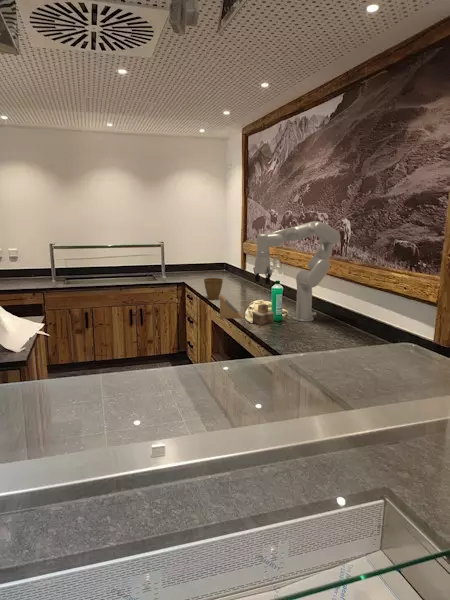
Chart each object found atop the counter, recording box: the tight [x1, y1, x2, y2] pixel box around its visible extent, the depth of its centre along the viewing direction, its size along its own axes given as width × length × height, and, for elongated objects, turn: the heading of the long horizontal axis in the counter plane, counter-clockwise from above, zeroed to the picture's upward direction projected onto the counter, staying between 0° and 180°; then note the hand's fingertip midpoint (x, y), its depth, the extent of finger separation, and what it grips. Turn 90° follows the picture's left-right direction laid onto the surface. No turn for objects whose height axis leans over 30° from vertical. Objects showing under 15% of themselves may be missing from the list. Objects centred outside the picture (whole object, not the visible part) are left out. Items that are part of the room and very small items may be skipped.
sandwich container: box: [219, 293, 244, 319], centre depth 274 cm, size 9×15×15 cm, turn 89°
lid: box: [251, 303, 275, 316], centre depth 258 cm, size 11×9×6 cm
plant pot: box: [203, 277, 224, 301], centre depth 332 cm, size 15×15×16 cm
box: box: [252, 313, 274, 326], centre depth 259 cm, size 10×8×6 cm
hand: (262, 282), depth 256 cm, fingers open, 9 cm apart
